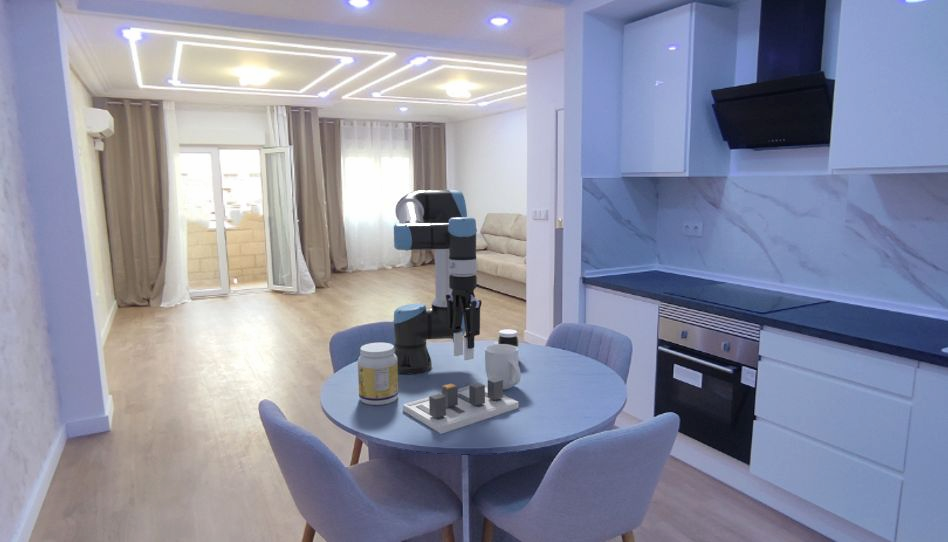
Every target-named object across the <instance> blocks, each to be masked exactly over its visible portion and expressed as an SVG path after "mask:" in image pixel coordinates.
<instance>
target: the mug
mask: <svg viewBox="0 0 948 542" xmlns="http://www.w3.org/2000/svg"><path fill="white" fill-rule="evenodd" d="M493 344H494V343H493ZM493 344H491V345H490V344H489V345H488V346H486V347H485V348H484V365H485V372H486V373H485V374H486V377H487V381H488V380H489V379H493V378H496V377H497V378H499V379H502V380H503V391H504V390H505V391H506V390H509V389H511V388H512V387H513V386H517V385H519V384H520V383H521V382H520V381H521V376H522V375H521V367H520V365H519V359H520V358H519V347H518V348H517V347H516V346H513V345H508V344H494V345H493Z"/></svg>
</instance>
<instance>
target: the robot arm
mask: <svg viewBox="0 0 948 542" xmlns="http://www.w3.org/2000/svg"><path fill="white" fill-rule="evenodd" d="M395 216H396V219H397V220H398V222H399V223H395V224H394V225H393V247H394V249H395V250H397V251H419V250H420V251H421V250H425V251H426V250H434V266H435V268H434V269H435V270H434V274H435V275H434V276H435V282H434V283H435V284H434V285H435V297H434V299H433V300H432V301H431V307H427V306H426V304H425V303H422V302H421V303H420V302H418V303H417V302H414V303H409V304H405V305H400V306H399V307H397V308H396V309H395V310H394V312H393V322H392V323H393V326H394V327H393V331H394V332H393V334H394V338H393V339H394V340H393V341H394V350H395V352H394V354H395V355H396V356H397V364H398V374H401V375H402V374H403V375H405V374H406V375H415V374H421V373H424V372H427V371H430V370H431V368H432V367H433V366H432V358H431V356H430V353H429V350H428V348H427V341H428V340H442V339H443V340H444V339H447V340H448V339H451V340H452V343H453V356H454V357H459V356H463V357H464V359H463V360H464V361H470V360H474V358H475V356H474V355H475V354H474V351H475V349H474V348H475V337H476V336H479V335H480V334H481V307H482V300H481V299H477V298H476V295H475V292H474V291H475V289H477V287H478V286H477V285H478V283H477V282H478V280H477V279H478V277H477V276H478V275H476V273H477V272H478V269H477V268H478V266H477V265H478V264H477V263H478V262H477V232H478V230H477V221H476V219H475V218H474V217H469V216H468V210H467V203H466V199H465V196H464V193H463V192H462V191H460V190H458V189H457V190H454V189H437V190H436V189H435V190H434V189H431V190H430V189H429V190H428V189H427V190H424V189H423V190H422V189H420V190H415V191H412V192H410V193H407V194H405V195H404V196H402V197H401V198H400V199H399V200H398V202H397V204H396V205H395Z"/></svg>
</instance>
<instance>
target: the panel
mask: <svg viewBox="0 0 948 542" xmlns="http://www.w3.org/2000/svg"><path fill="white" fill-rule="evenodd" d="M517 409H519V401H517V400H516V399H513V398H511V397H508V396H507V395H505V394H503V398H500V399H497V400H492V399H490V398H488V387H486V386H485V403H484V404H481V405H477V406H475V405H473V404H470V403H469V385H467V386H463V387H460V388H458V405H456V406H452V407H449V408H447V407H446V415H445V416H442V417H439V418H434V417H432V416H430V408H429V397H425V398H421V399H418V400H415V401H414V400H413V401H410V402H407V403H403V404H402V411H403V412H405V414H408V415H409V416H410V417H412V418H414V419H416V421H417V420H418V421H420V422H421V423H422V424H424V425H426V426H428V427H429V428H430V429H432V430H434V431H436V432H437V433H439V434H440V435H441V434H446V433H448V432H453V431H454V430H457V429H461V428H463V427H467V426H469V425H472V424H476V423H478V422H481V421H484V420H488V419H489V418H494V417H496V416H499V415H502V414H505V413H508V412H512V411H513V410H514V411H515V410H517Z"/></svg>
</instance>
